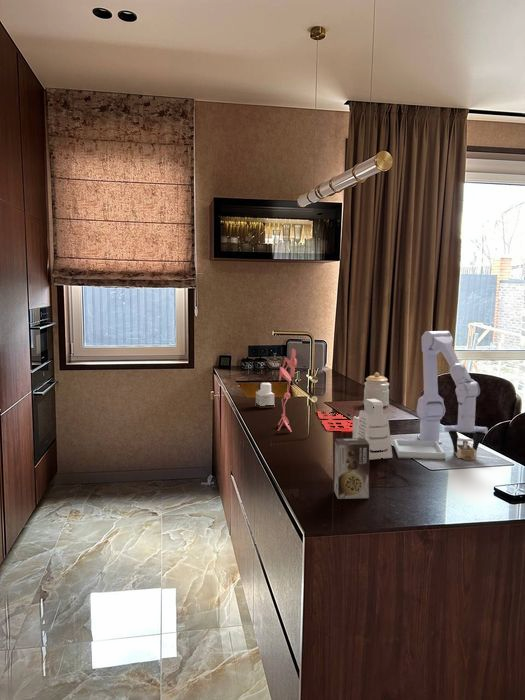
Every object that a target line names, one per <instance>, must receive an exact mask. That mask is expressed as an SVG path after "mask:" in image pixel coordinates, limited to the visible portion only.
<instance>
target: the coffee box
mask: <svg viewBox="0 0 525 700" xmlns="http://www.w3.org/2000/svg"><path fill="white" fill-rule="evenodd" d="M333 487H334V493H335V496H336V498H337V499H338V500H347V499H349V500H351V499H353V500H354V499H369V498H370V491H369V490H370V460H369V443H368V442H367V440H366V439H365V438H353V437H352V438H349V437H346V438H344V437H343V438H335V439H334V486H333Z"/></svg>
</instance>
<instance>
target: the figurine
mask: <svg viewBox="0 0 525 700" xmlns="http://www.w3.org/2000/svg"><path fill="white" fill-rule="evenodd" d="M296 352H297V351H296V349H294V348H291V353H290V354H291V356H290V357H291V358H290V359H289V358H287V357H286V356H285V357H284V361H283V365H282V366H279V376H278V377H279V379H278V381H279V382H280V381H281V380H282V378H283V379H285V380H286V381H287V382H288V388H287V392H284V395H283V396H284V397H283V398H282V399H281V405H282V412H283V413H281V419H280V420H279V422H278V423H277V425H279V426H278V429H277V431H280V430H281V428H282V426H283V424H284V425H285V426H286V428H287V429H288V430H289V432H290V433H291V432H292V433H293V431H292V429H291V426H290V422H289V419H288V417H287V415H286V403H287V401H288V399H290V398H291V394H290V387H291V382H292V378H294V377H295V371H296V370H295V368H297V364H298V360H297V358H296ZM286 363H287V366H285V365H286ZM284 367H285V368H284ZM288 367H289V368H290V369H289V371H290V373H289V372H288V371H287V369H288ZM284 399H286V400H285V401H284ZM288 424H289V425H288Z"/></svg>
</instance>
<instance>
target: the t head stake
mask: <svg viewBox="0 0 525 700" xmlns="http://www.w3.org/2000/svg"><path fill="white" fill-rule="evenodd" d="M457 442H462V445H463V450H467V445H469V443H468V442H473V438H459V437H458V440H457Z"/></svg>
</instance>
